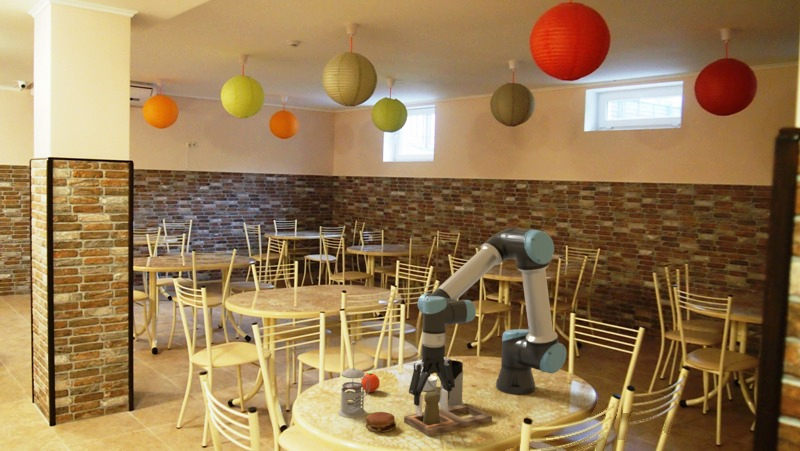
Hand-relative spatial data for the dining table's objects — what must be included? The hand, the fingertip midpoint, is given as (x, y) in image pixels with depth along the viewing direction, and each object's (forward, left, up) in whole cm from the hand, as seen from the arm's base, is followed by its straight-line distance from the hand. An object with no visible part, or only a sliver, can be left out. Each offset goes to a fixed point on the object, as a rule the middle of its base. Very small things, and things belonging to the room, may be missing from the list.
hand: (431, 412), depth 211 cm
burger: (+15, -7, -5) cm, 17 cm away
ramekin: (-21, -33, -5) cm, 39 cm away
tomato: (0, -40, -5) cm, 40 cm away
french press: (+16, -23, -5) cm, 28 cm away
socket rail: (-7, 0, -5) cm, 8 cm away
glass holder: (-17, -16, -5) cm, 24 cm away
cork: (0, 0, -5) cm, 5 cm away
